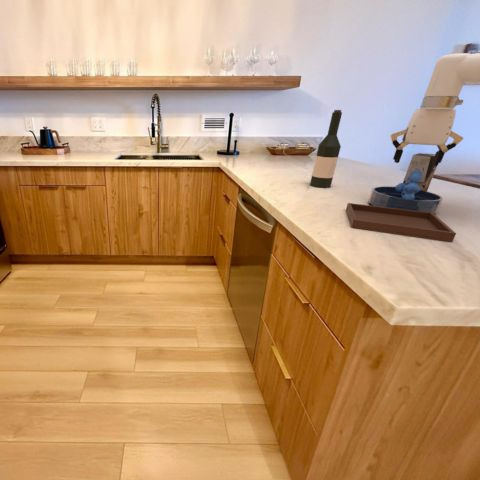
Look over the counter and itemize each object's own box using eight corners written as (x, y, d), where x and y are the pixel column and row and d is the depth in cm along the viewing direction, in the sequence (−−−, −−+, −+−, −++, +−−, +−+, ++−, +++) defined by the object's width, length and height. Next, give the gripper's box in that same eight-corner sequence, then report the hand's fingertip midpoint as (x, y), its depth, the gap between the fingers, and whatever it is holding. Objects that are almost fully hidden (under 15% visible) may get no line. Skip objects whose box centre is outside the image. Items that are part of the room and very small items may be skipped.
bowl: (426, 203, 100) (431, 189, 98) (445, 220, 86) (452, 204, 83) (364, 197, 108) (368, 184, 106) (372, 211, 93) (377, 196, 91)
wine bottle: (306, 185, 124) (322, 109, 112) (313, 182, 130) (329, 109, 117) (327, 189, 119) (346, 110, 106) (333, 185, 124) (353, 110, 112)
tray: (429, 220, 86) (432, 212, 85) (452, 242, 71) (456, 233, 70) (345, 209, 94) (347, 202, 93) (351, 227, 80) (353, 219, 79)
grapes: (390, 200, 102) (401, 166, 97) (414, 203, 98) (427, 168, 93) (387, 207, 94) (399, 171, 89) (413, 212, 90) (428, 174, 85)
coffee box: (418, 204, 100) (436, 156, 93) (395, 200, 105) (412, 154, 98) (424, 199, 105) (442, 154, 98) (403, 195, 110) (419, 152, 103)
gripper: (471, 104, 83) (445, 164, 90) (398, 104, 90) (380, 159, 97) (483, 104, 77) (455, 168, 84) (404, 103, 84) (384, 163, 91)
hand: (414, 163), depth 91 cm, fingers open, 9 cm apart
